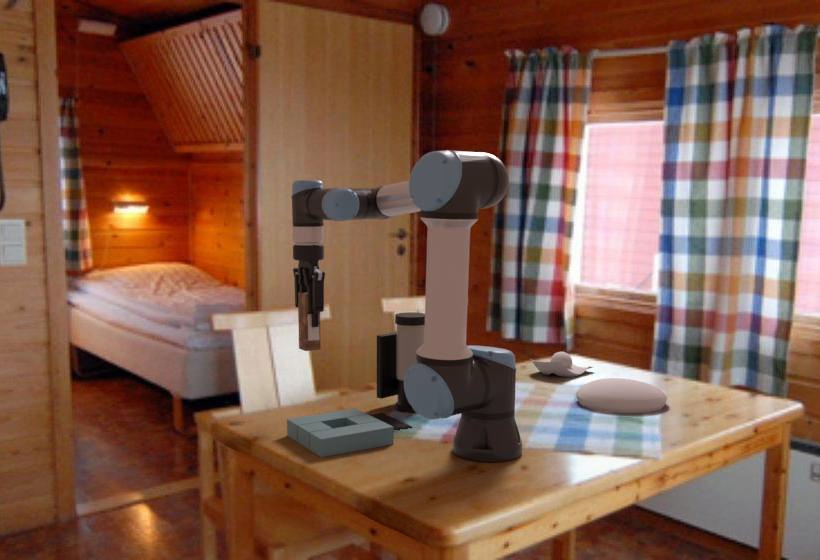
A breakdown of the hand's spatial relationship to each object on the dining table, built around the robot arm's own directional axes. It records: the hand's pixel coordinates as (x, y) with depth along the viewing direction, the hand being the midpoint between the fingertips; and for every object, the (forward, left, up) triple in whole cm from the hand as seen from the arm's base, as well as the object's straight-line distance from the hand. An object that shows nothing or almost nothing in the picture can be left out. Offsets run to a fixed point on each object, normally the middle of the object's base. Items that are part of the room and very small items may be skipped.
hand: (309, 338), depth 207 cm
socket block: (-20, +2, -20) cm, 28 cm away
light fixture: (-4, -26, -20) cm, 33 cm away
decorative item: (-30, -77, -21) cm, 85 cm away
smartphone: (-13, -14, -21) cm, 28 cm away
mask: (+6, -88, -21) cm, 90 cm away
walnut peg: (0, 0, -3) cm, 3 cm away
